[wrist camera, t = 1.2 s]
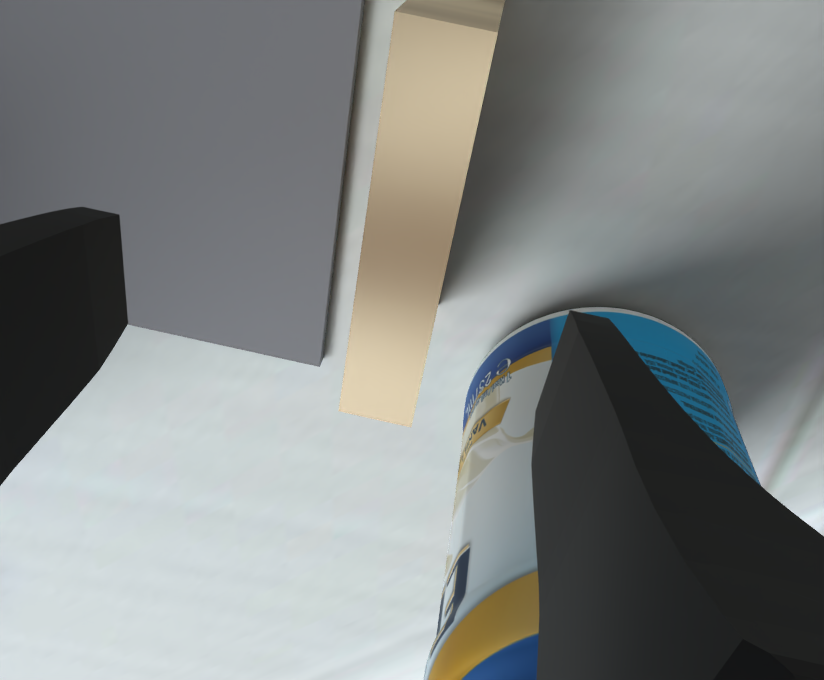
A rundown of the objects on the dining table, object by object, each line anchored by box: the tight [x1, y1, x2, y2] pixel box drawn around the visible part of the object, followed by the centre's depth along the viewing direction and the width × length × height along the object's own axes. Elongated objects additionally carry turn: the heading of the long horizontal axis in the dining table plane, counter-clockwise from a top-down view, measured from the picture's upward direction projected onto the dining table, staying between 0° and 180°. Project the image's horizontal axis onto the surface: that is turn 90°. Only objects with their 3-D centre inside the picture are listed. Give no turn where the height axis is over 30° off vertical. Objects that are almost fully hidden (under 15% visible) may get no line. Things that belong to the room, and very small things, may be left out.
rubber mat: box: [0, 0, 365, 367], centre depth 18 cm, size 19×13×1 cm
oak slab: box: [339, 0, 505, 427], centre depth 17 cm, size 9×2×6 cm, turn 171°
